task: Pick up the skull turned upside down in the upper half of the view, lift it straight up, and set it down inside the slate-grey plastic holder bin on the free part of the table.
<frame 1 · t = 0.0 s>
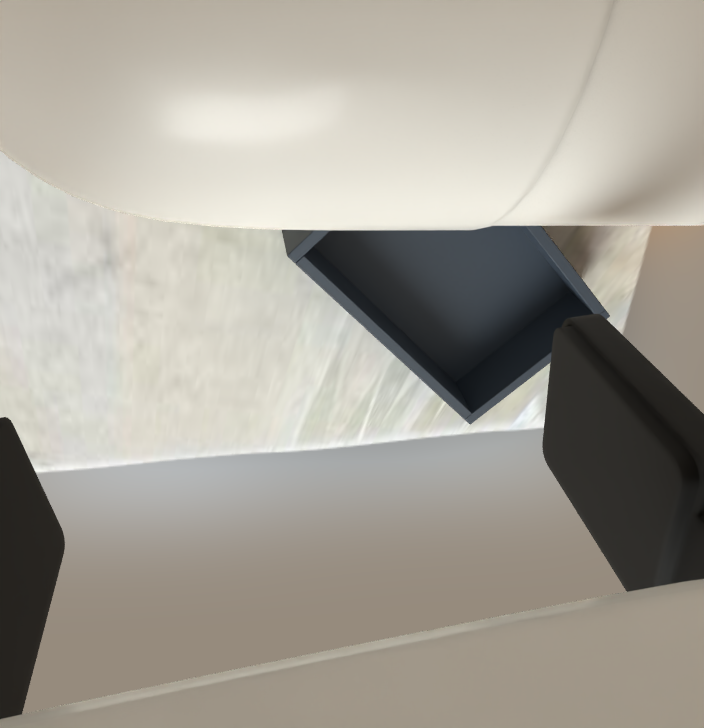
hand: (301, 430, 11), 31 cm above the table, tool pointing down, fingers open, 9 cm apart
holder: (440, 258, 44), on the table
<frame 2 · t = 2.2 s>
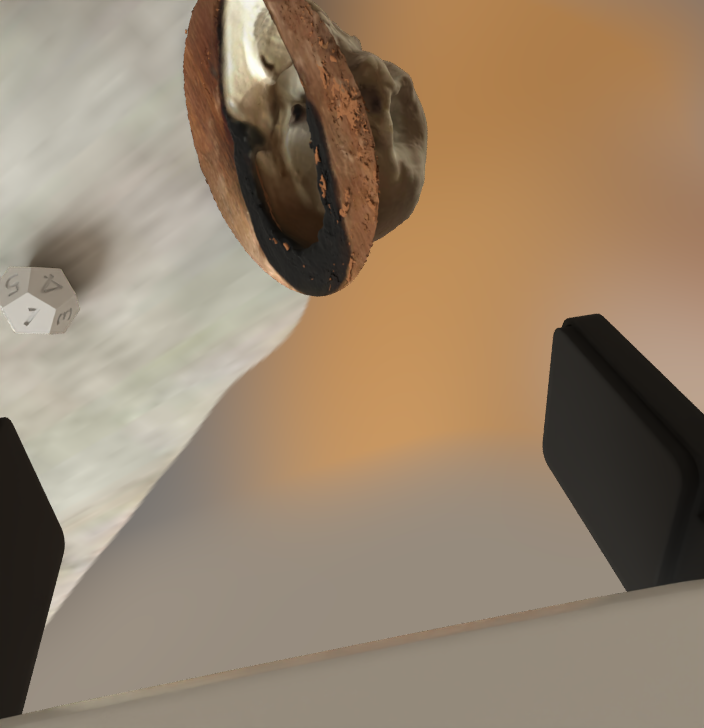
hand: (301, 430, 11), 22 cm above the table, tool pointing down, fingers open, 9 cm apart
game die: (44, 284, 32), on the table
skull: (259, 171, 21), point 10 cm above the table
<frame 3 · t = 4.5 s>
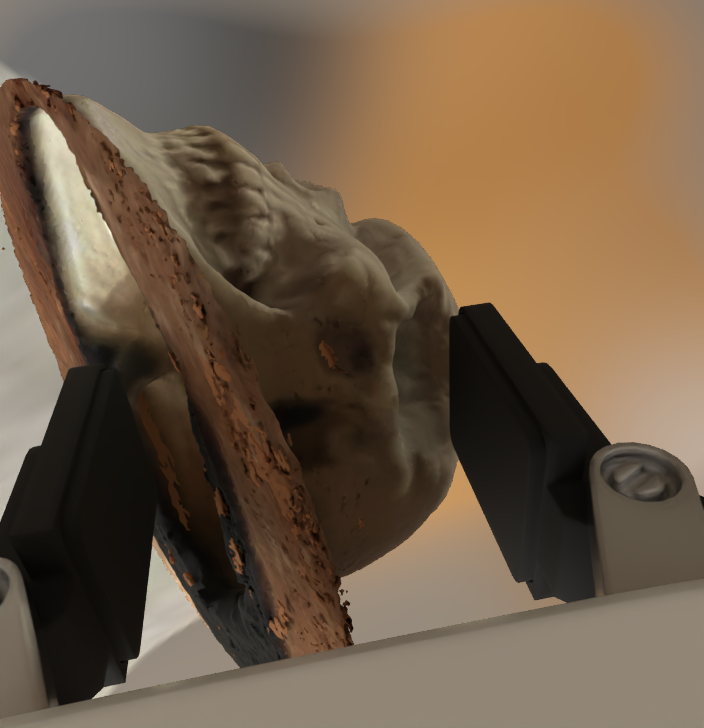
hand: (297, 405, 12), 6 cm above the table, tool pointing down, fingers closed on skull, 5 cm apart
skull: (44, 612, 8), point 10 cm above the table, touching gripper
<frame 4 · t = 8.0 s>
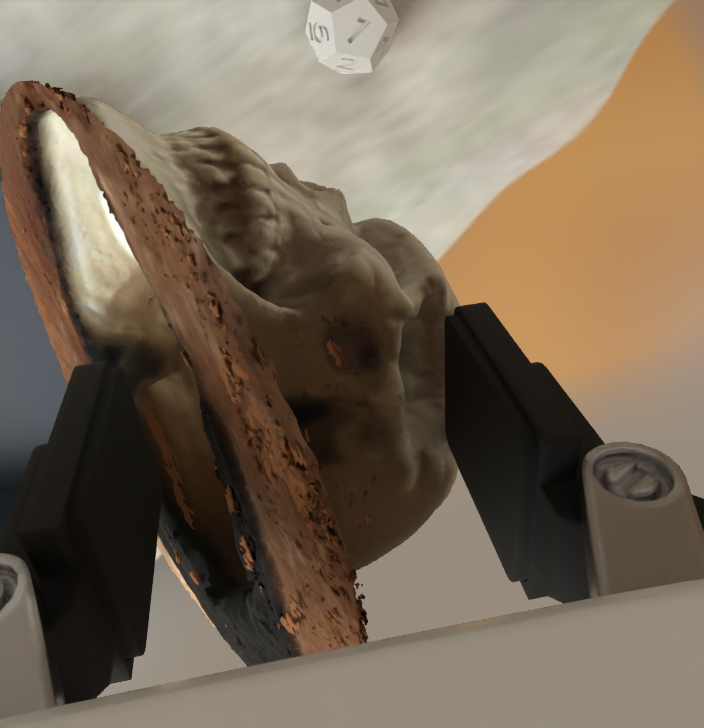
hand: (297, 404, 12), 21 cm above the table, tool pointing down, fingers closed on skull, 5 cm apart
game die: (345, 22, 28), on the table
skull: (61, 610, 8), point 24 cm above the table, touching gripper
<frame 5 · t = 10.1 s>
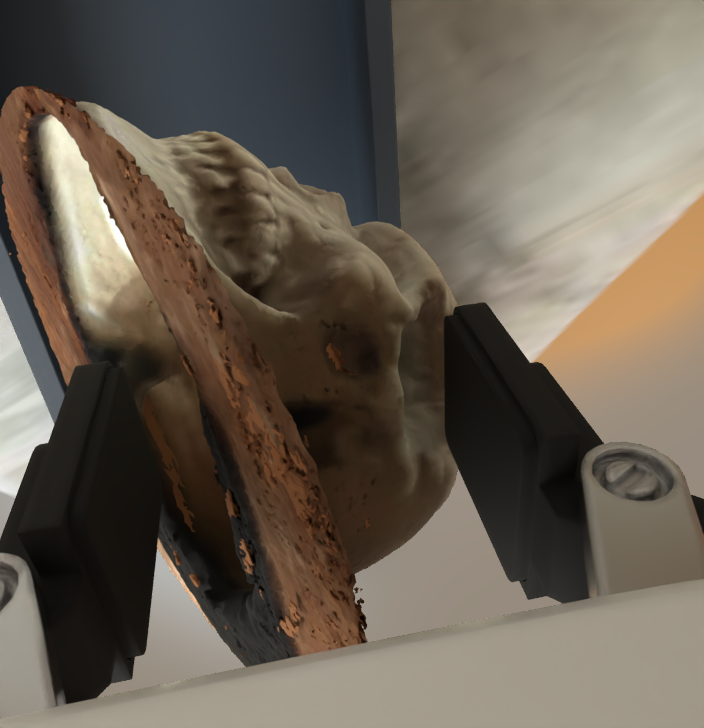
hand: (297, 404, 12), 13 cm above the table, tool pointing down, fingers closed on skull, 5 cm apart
skull: (61, 614, 8), point 17 cm above the table, touching gripper
holder: (209, 218, 23), on the table
when the fingers open (9 cm above the table, at t = 11.5 s): skull drops 3 cm, resting on holder.
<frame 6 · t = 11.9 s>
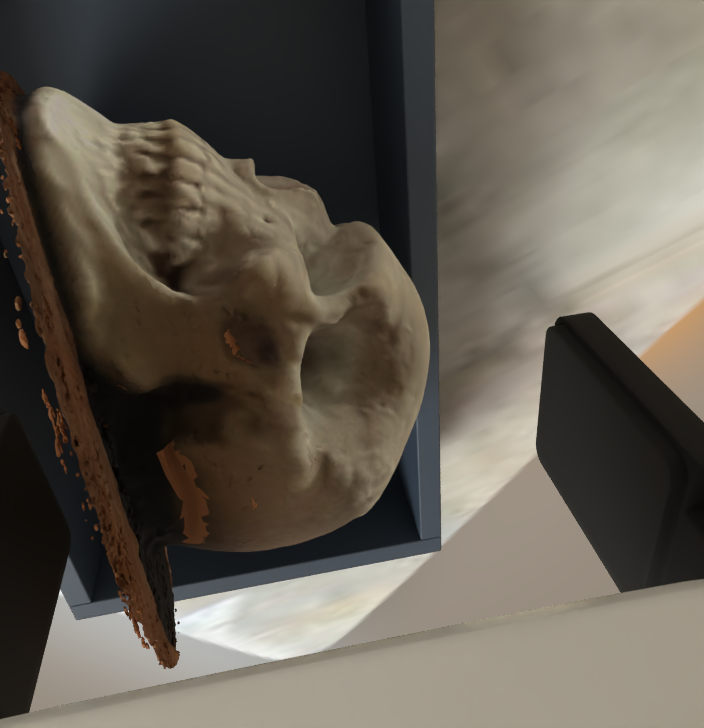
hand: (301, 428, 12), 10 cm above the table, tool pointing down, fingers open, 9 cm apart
holder: (208, 268, 20), on the table
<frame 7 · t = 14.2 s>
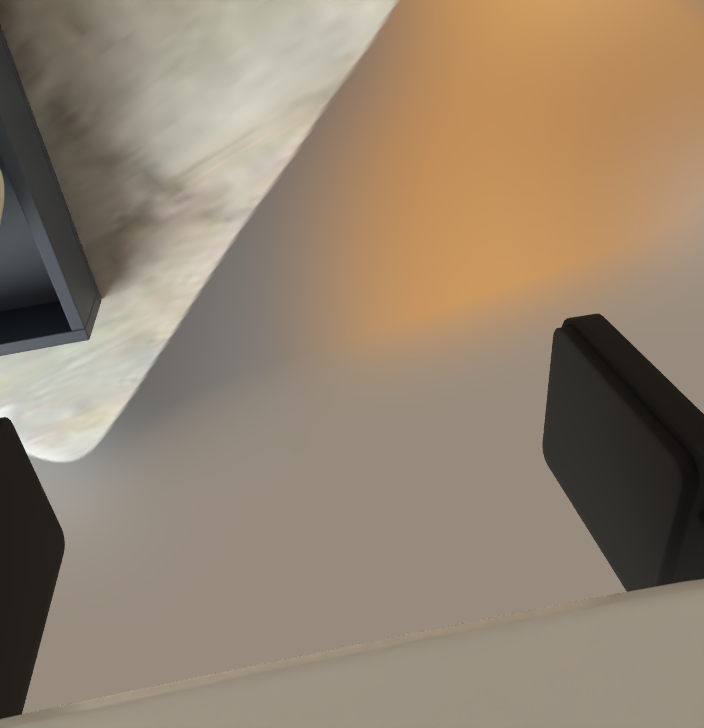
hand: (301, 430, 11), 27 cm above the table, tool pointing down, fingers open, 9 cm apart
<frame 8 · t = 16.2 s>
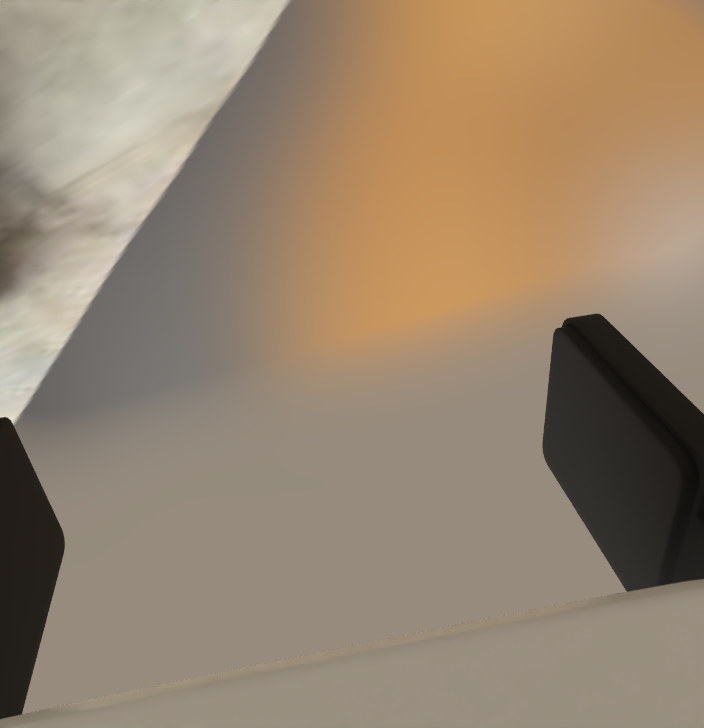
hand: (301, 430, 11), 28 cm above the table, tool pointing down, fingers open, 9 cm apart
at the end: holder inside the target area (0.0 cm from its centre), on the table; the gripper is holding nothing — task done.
